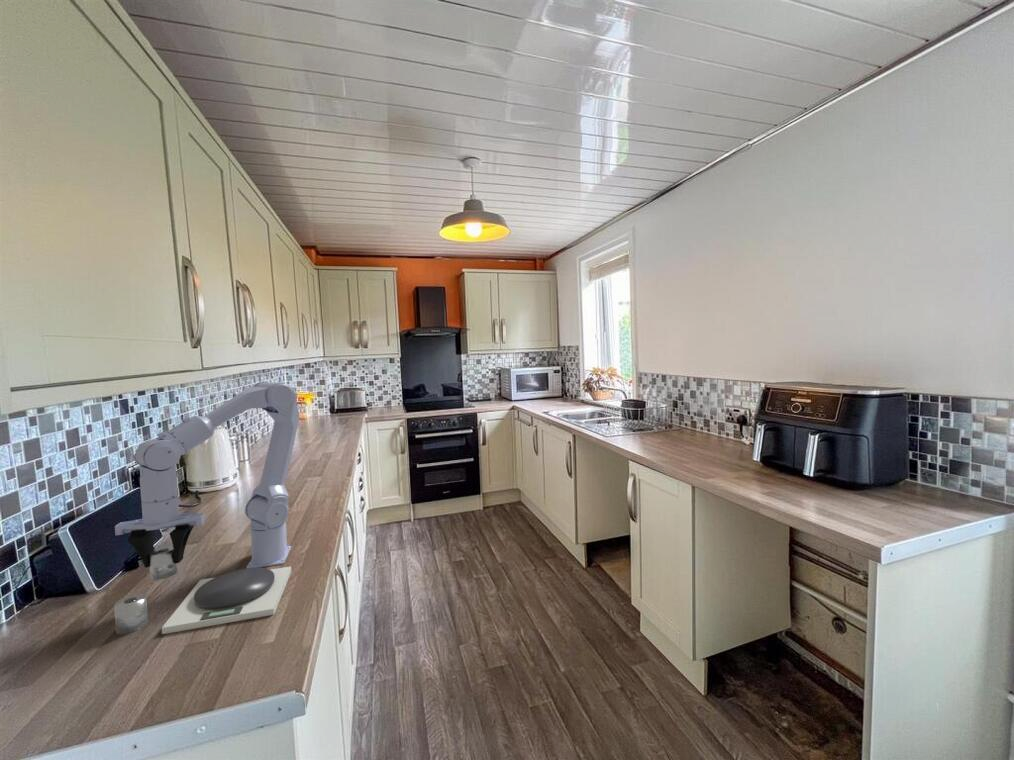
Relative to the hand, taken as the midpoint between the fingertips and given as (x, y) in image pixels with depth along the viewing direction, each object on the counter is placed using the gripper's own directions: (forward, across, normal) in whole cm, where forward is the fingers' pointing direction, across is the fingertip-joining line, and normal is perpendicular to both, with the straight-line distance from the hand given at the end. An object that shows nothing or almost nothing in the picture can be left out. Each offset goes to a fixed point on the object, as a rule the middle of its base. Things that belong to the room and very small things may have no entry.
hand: (164, 563), depth 85 cm
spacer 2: (+2, 0, 0) cm, 2 cm away
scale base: (+8, +13, -4) cm, 16 cm away
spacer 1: (+8, -2, -8) cm, 12 cm away
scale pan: (+6, +13, -3) cm, 15 cm away
